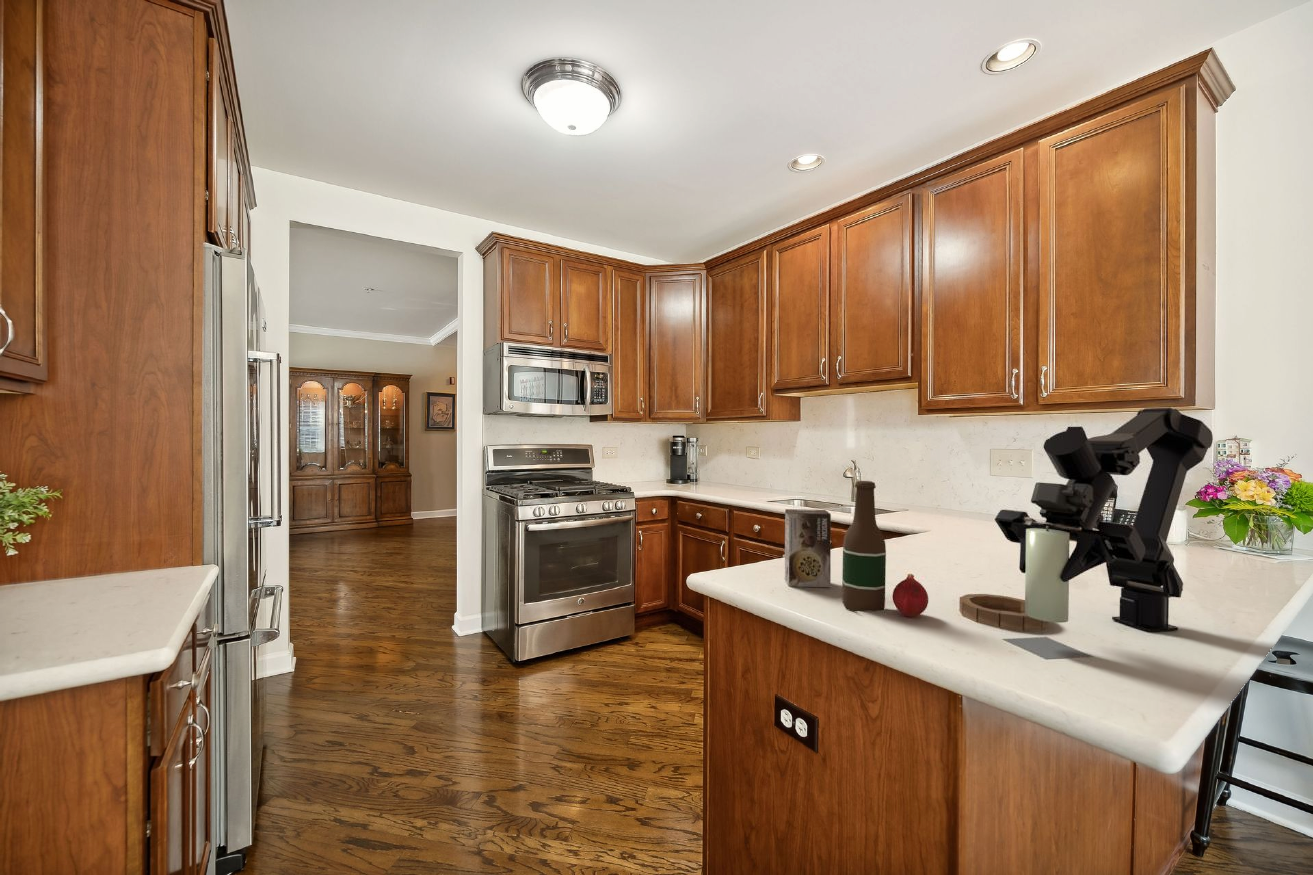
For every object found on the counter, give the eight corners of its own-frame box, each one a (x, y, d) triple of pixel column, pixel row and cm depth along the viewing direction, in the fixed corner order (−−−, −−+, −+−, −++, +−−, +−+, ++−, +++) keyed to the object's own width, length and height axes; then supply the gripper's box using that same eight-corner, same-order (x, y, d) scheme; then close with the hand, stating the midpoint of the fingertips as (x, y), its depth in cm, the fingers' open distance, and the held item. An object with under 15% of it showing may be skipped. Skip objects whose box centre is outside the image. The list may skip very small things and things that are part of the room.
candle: (1046, 610, 87) (1047, 523, 87) (1077, 621, 81) (1079, 528, 81) (1016, 611, 86) (1017, 523, 86) (1046, 623, 81) (1047, 529, 81)
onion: (932, 625, 95) (933, 579, 95) (896, 622, 96) (897, 577, 96) (922, 615, 100) (923, 571, 100) (889, 612, 101) (890, 569, 101)
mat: (1045, 640, 88) (1045, 636, 88) (1093, 660, 80) (1093, 656, 80) (1002, 642, 87) (1002, 639, 87) (1045, 663, 79) (1045, 659, 79)
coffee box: (824, 580, 124) (825, 509, 124) (831, 588, 118) (832, 513, 118) (783, 579, 125) (784, 508, 125) (787, 586, 118) (789, 511, 119)
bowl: (1005, 608, 105) (1005, 593, 105) (1066, 632, 92) (1066, 614, 92) (944, 611, 103) (944, 595, 103) (998, 635, 90) (998, 617, 90)
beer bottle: (888, 606, 105) (890, 481, 105) (880, 617, 99) (883, 483, 99) (846, 599, 109) (849, 479, 110) (836, 609, 103) (839, 481, 103)
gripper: (1002, 461, 94) (959, 530, 89) (1136, 467, 77) (1093, 552, 72) (1028, 506, 97) (989, 574, 92) (1162, 520, 81) (1123, 605, 76)
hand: (1041, 575), depth 83 cm, fingers closed on candle, 5 cm apart
